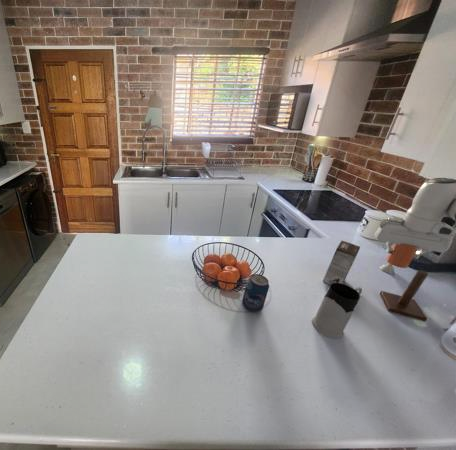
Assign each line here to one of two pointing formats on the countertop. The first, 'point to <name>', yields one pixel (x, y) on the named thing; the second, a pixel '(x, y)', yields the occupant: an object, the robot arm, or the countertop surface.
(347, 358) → the countertop surface
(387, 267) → the chalice
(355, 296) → the glass holder
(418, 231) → the robot arm
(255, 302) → the soda can
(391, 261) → the cup
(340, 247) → the coffee box
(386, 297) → the stand
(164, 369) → the countertop surface
